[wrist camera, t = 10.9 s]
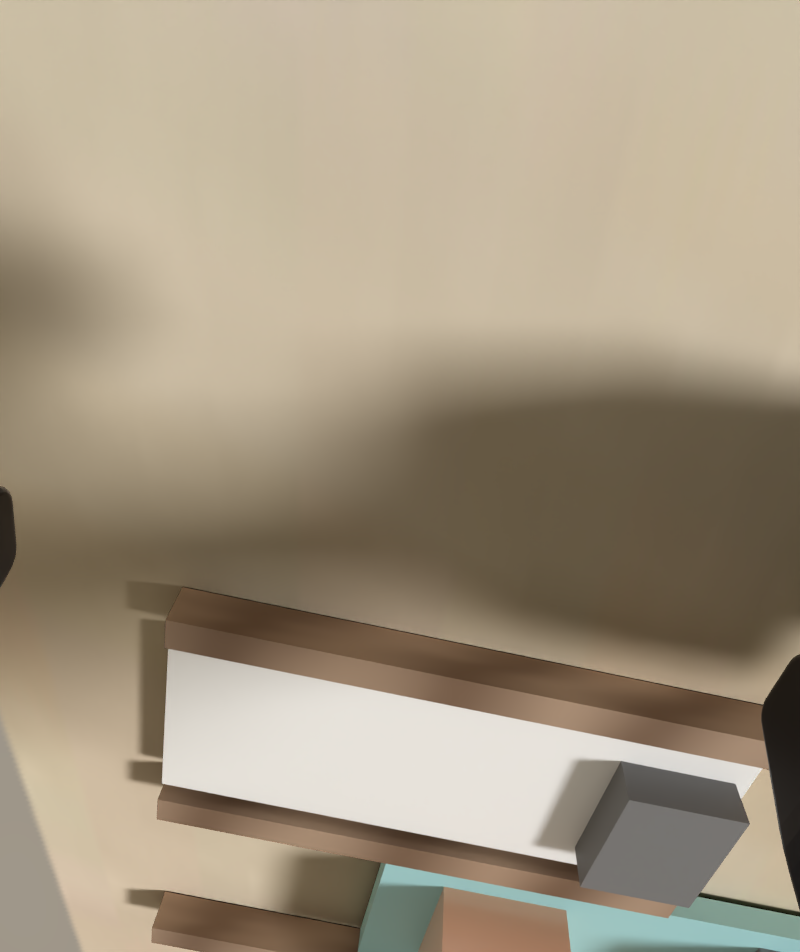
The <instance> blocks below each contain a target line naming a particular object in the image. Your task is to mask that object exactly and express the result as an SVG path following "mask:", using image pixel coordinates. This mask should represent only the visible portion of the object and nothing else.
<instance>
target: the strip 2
mask: <svg viewBox="0 0 800 952" xmlns="http://www.w3.org/2000/svg"><path fill="white" fill-rule="evenodd" d="M444 887H449V888H454V889H459V890H464V891H469V892H475V893H480V894H485V895H490V896H495V897H500V898H506V899H511V900H516V901H521V902H526V903H531V904H537V905H542V906H547V907H552V908H557V909H562V910H566V912H567V921H568V930H569V939H570V948H571V952H800V917H799V916H794V915H789V914H784V913H778V912H773V911H768V910H763V909H758V908H753V907H748V906H743V905H737V904H732V903H727V902H722V901H717V900H712V899H707V898H702V897H697V898H696V899H695V901H694V902H693V903H692V905H691V906H690V907H689V908H686V907H681V906H676V908H675V909H674V911H673V912H672V914H671V915H670V916H669V918H663V917H658V916H653V915H648V914H643V913H637V912H632V911H627V910H622V909H617V908H612V907H607V906H601V905H596V904H591V903H586V902H581V901H576V900H570V899H565V898H560V897H555V896H550V895H545V894H540V893H534V892H529V891H524V890H519V889H514V888H509V887H504V886H498V885H493V884H488V883H483V882H478V881H473V880H468V879H462V878H457V877H452V876H447V875H442V874H437V873H431V872H426V871H421V870H416V869H411V868H406V867H401V866H395V865H390V864H385V863H381V865H380V868H379V871H378V874H377V878H376V881H375V884H374V887H373V890H372V893H371V897H370V900H369V903H368V906H367V909H366V913H365V916H364V919H363V922H362V925H361V929H360V937H359V945H358V952H418V950H419V948H420V945H421V943H422V940H423V938H424V935H425V933H426V930H427V928H428V925H429V923H430V920H431V918H432V915H433V913H434V910H435V908H436V905H437V903H438V900H439V898H440V895H441V893H442V890H443V888H444Z"/></svg>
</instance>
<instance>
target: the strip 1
mask: <svg viewBox="0 0 800 952" xmlns="http://www.w3.org/2000/svg"><path fill="white" fill-rule="evenodd" d="M761 770H762V768H758V767H753V766H748V765H743V764H738V763H733V762H728V761H723V760H718V759H713V758H708V757H703V756H698V755H693V754H688V753H683V752H678V751H673V750H668V749H663V748H658V747H653V746H648V745H643V744H638V743H633V742H629V741H624V740H619V739H614V738H609V737H604V736H599V735H594V734H589V733H584V732H579V731H574V730H569V729H564V728H559V727H554V726H549V725H544V724H539V723H534V722H529V721H524V720H519V719H514V718H509V717H504V716H499V715H495V714H490V713H485V712H480V711H475V710H470V709H465V708H460V707H455V706H450V705H445V704H440V703H435V702H430V701H425V700H420V699H415V698H410V697H405V696H400V695H395V694H390V693H385V692H380V691H375V690H370V689H365V688H360V687H356V686H351V685H346V684H341V683H336V682H331V681H326V680H321V679H316V678H311V677H306V676H301V675H296V674H291V673H286V672H281V671H276V670H271V669H266V668H261V667H256V666H251V665H246V664H241V663H236V662H231V661H226V660H222V659H217V658H212V657H207V656H202V655H197V654H192V653H187V652H182V651H177V650H172V649H168V663H167V684H166V705H165V727H164V748H163V769H162V784H167V785H172V786H177V787H182V788H187V789H192V790H197V791H202V792H207V793H213V794H218V795H223V796H228V797H233V798H238V799H243V800H248V801H253V802H259V803H264V804H269V805H274V806H279V807H284V808H289V809H294V810H299V811H305V812H310V813H315V814H320V815H325V816H330V817H335V818H340V819H345V820H351V821H356V822H361V823H366V824H371V825H376V826H381V827H386V828H391V829H396V830H402V831H407V832H412V833H417V834H422V835H427V836H432V837H437V838H442V839H448V840H453V841H458V842H463V843H468V844H473V845H478V846H483V847H488V848H494V849H499V850H504V851H509V852H514V853H519V854H524V855H529V856H534V857H540V858H545V859H550V860H555V861H560V862H565V863H570V864H575V865H577V868H578V876H579V884H580V887H583V888H588V889H593V890H598V891H604V892H609V893H614V894H619V895H624V896H629V897H634V898H639V899H645V900H650V901H655V902H660V903H665V904H670V905H675V906H681V907H686V908H689V907H690V906H691V905H692V903H693V902H694V901H695V899H696V898H697V896H698V895H699V894H700V892H701V891H702V889H703V888H704V887H705V885H706V884H707V883H708V881H709V880H710V878H711V877H712V876H713V874H714V873H715V871H716V870H717V869H718V867H719V866H720V865H721V863H722V862H723V860H724V859H725V858H726V856H727V855H728V853H729V852H730V851H731V849H732V848H733V847H734V845H735V844H736V842H737V841H738V840H739V838H740V837H741V835H742V834H743V833H744V831H745V830H746V829H747V827H748V826H749V824H750V823H749V821H748V818H747V815H746V812H745V809H744V806H743V804H742V801H741V799H742V797H743V796H744V794H745V793H746V791H747V790H748V788H749V787H750V786H751V784H752V783H753V781H754V780H755V778H756V777H757V775H758V774H759V773H760V771H761Z"/></svg>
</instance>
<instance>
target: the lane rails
mask: <svg viewBox="0 0 800 952" xmlns="http://www.w3.org/2000/svg"><path fill="white" fill-rule="evenodd" d="M164 648H167V649H172V650H177V651H182V652H187V653H192V654H197V655H202V656H207V657H212V658H217V659H222V660H226V661H231V662H236V663H241V664H246V665H251V666H256V667H261V668H266V669H271V670H276V671H281V672H286V673H291V674H296V675H301V676H306V677H311V678H316V679H321V680H326V681H331V682H336V683H341V684H346V685H351V686H356V687H360V688H365V689H370V690H375V691H380V692H385V693H390V694H395V695H400V696H405V697H410V698H415V699H420V700H425V701H430V702H435V703H440V704H445V705H450V706H455V707H460V708H465V709H470V710H475V711H480V712H485V713H490V714H495V715H499V716H504V717H509V718H514V719H519V720H524V721H529V722H534V723H539V724H544V725H549V726H554V727H559V728H564V729H569V730H574V731H579V732H584V733H589V734H594V735H599V736H604V737H609V738H614V739H619V740H624V741H629V742H633V743H638V744H643V745H648V746H653V747H658V748H663V749H668V750H673V751H678V752H683V753H688V754H693V755H698V756H703V757H708V758H713V759H718V760H723V761H728V762H733V763H738V764H743V765H748V766H753V767H758V768H763V769H767V770H769V765H768V759H767V753H766V747H765V742H764V736H763V730H762V723H761V712H762V707H763V705H758V704H753V703H748V702H743V701H738V700H733V699H728V698H723V697H718V696H714V695H709V694H704V693H699V692H694V691H689V690H684V689H679V688H674V687H669V686H665V685H660V684H655V683H650V682H645V681H640V680H635V679H630V678H625V677H621V676H616V675H611V674H606V673H601V672H596V671H591V670H586V669H581V668H576V667H572V666H567V665H562V664H557V663H552V662H547V661H542V660H537V659H532V658H527V657H523V656H518V655H513V654H508V653H503V652H498V651H493V650H488V649H483V648H478V647H474V646H469V645H464V644H459V643H454V642H449V641H444V640H439V639H434V638H430V637H425V636H420V635H415V634H410V633H405V632H400V631H395V630H390V629H385V628H381V627H376V626H371V625H366V624H361V623H356V622H351V621H346V620H341V619H336V618H332V617H327V616H322V615H317V614H312V613H307V612H302V611H297V610H292V609H287V608H283V607H278V606H273V605H268V604H263V603H258V602H253V601H248V600H243V599H239V598H234V597H229V596H224V595H219V594H214V593H209V592H204V591H199V590H194V589H190V588H185V587H182V589H181V591H180V593H179V595H178V597H177V599H176V601H175V603H174V605H173V606H172V608H171V610H170V612H169V614H168V616H167V618H166V620H165V642H164ZM157 819H159V820H164V821H169V822H174V823H179V824H184V825H189V826H195V827H200V828H205V829H210V830H215V831H220V832H226V833H231V834H236V835H241V836H246V837H251V838H256V839H262V840H267V841H272V842H277V843H282V844H287V845H292V846H298V847H303V848H308V849H313V850H318V851H323V852H328V853H334V854H339V855H344V856H349V857H354V858H359V859H365V860H370V861H375V862H380V863H385V864H390V865H395V866H401V867H406V868H411V869H416V870H421V871H426V872H431V873H437V874H442V875H447V876H452V877H457V878H462V879H468V880H473V881H478V882H483V883H488V884H493V885H498V886H504V887H509V888H514V889H519V890H524V891H529V892H534V893H540V894H545V895H550V896H555V897H560V898H565V899H570V900H576V901H581V902H586V903H591V904H596V905H601V906H607V907H612V908H617V909H622V910H627V911H632V912H637V913H643V914H648V915H653V916H658V917H663V918H669V916H670V915H671V914H672V912H673V911H674V909H675V908H676V906H675V905H670V904H665V903H660V902H655V901H650V900H645V899H639V898H634V897H629V896H624V895H619V894H614V893H609V892H604V891H598V890H593V889H588V888H583V887H580V884H579V876H578V868H577V865H575V864H570V863H565V862H560V861H555V860H550V859H545V858H540V857H534V856H529V855H524V854H519V853H514V852H509V851H504V850H499V849H494V848H488V847H483V846H478V845H473V844H468V843H463V842H458V841H453V840H448V839H442V838H437V837H432V836H427V835H422V834H417V833H412V832H407V831H402V830H396V829H391V828H386V827H381V826H376V825H371V824H366V823H361V822H356V821H351V820H345V819H340V818H335V817H330V816H325V815H320V814H315V813H310V812H305V811H299V810H294V809H289V808H284V807H279V806H274V805H269V804H264V803H259V802H253V801H248V800H243V799H238V798H233V797H228V796H223V795H218V794H213V793H207V792H202V791H197V790H192V789H187V788H182V787H177V786H172V785H167V784H164V785H163V788H162V790H161V793H160V795H159V798H158V804H157ZM359 937H360V929H358V928H353V927H348V926H343V925H338V924H332V923H327V922H322V921H317V920H311V919H306V918H301V917H296V916H291V915H285V914H280V913H275V912H270V911H264V910H259V909H254V908H249V907H243V906H238V905H233V904H228V903H223V902H217V901H212V900H207V899H202V898H196V897H191V896H186V895H181V894H175V893H170V892H165V893H164V896H163V899H162V902H161V904H160V907H159V910H158V913H157V916H156V918H155V921H154V924H153V927H152V943H157V944H163V945H168V946H173V947H179V948H184V949H189V950H194V951H200V952H358V945H359Z"/></svg>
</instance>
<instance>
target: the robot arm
mask: <svg viewBox="0 0 800 952" xmlns="http://www.w3.org/2000/svg"><path fill="white" fill-rule="evenodd" d="M15 555H16V535H15V524H14V512H13V501H12V497H11V494H10V492H9V491H8V490H7V489H6V488H4V487H2V486H0V587H1V585H2V584H3V582H4V580H5V578H6V577H7V575H8V573H9V571H10V569H11V567H12V565H13V562H14V559H15ZM761 723H762V730H763V736H764V742H765V747H766V753H767V759H768V765H769V771H770V777H771V783H772V789H773V795H774V800H775V806H776V812H777V818H778V824H779V830H780V835H781V839H782V844H783V849H784V853H785V857H786V861H787V865H788V869H789V873H790V877H791V880H792V884H793V888H794V891H795V895H796V898H797V902H798V906H799V909H800V654H799V655H797V656H795V657H794V658H793V659H792V660H791V661H790V662H789V664H788V665H787V667H786V668H785V670H784V672H783V673H782V675H781V676H780V678H779V679H778V681H777V682H776V684H775V685H774V687H773V688H772V690H771V692H770V693H769V695H768V696H767V698H766V699H765V701H764V704H763V707H762V712H761Z"/></svg>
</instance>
